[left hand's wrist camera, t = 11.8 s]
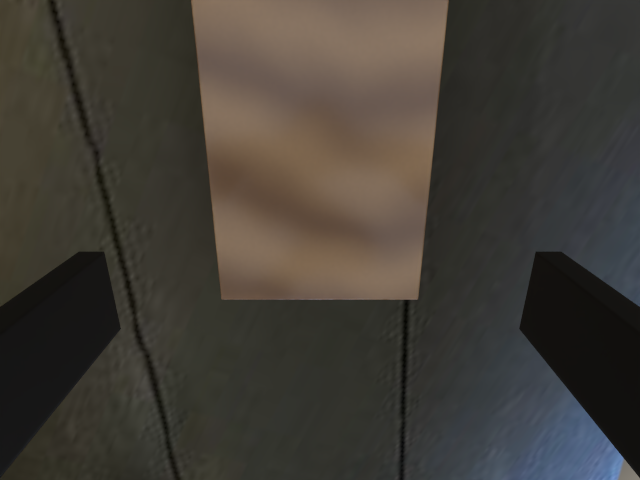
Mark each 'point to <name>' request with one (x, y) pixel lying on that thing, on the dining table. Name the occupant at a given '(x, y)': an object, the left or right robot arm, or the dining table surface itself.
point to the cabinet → (319, 143)
